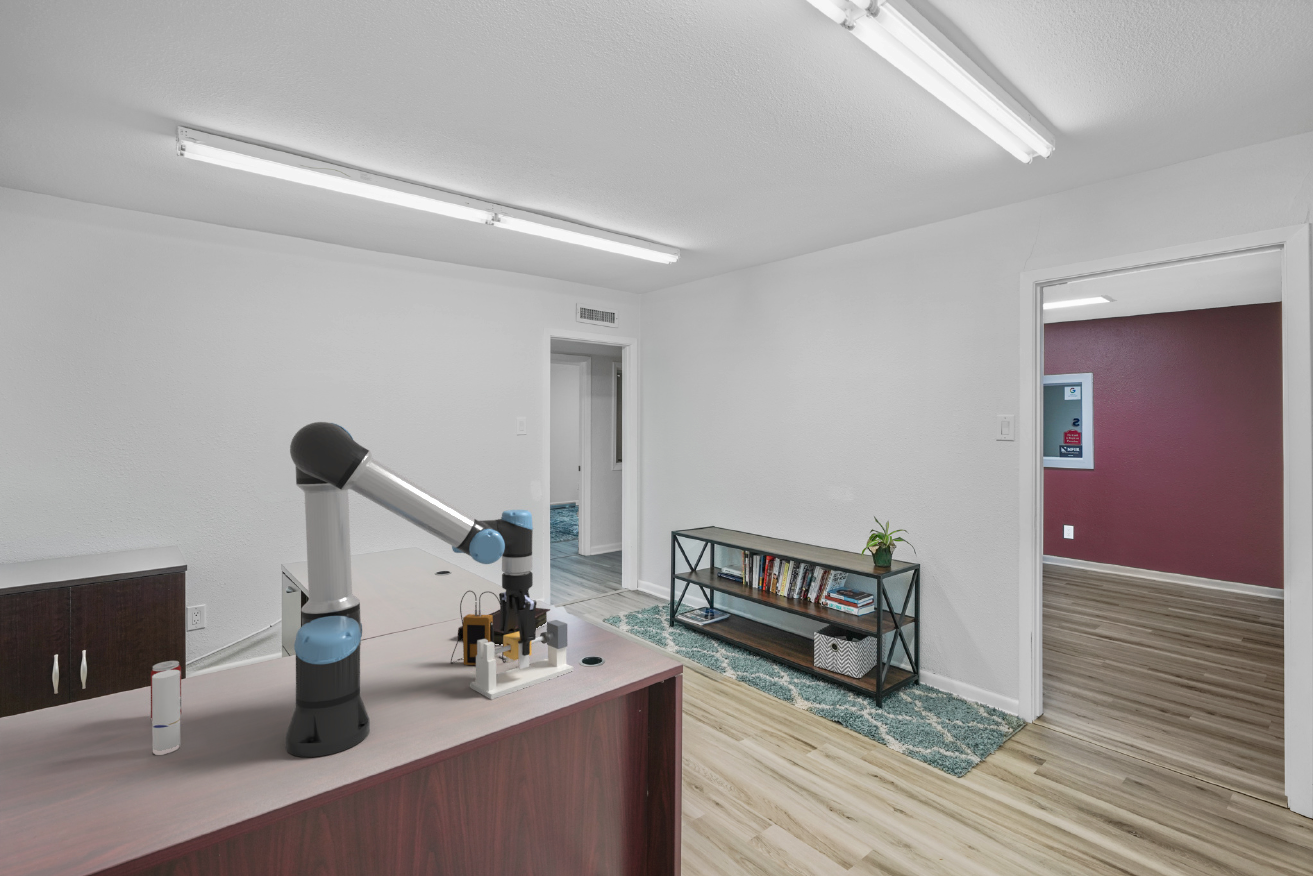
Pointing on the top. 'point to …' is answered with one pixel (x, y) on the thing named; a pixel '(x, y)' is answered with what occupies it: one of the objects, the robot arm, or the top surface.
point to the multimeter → (475, 633)
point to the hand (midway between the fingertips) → (517, 664)
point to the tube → (166, 709)
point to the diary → (498, 635)
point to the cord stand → (525, 677)
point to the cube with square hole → (513, 645)
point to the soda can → (165, 667)
